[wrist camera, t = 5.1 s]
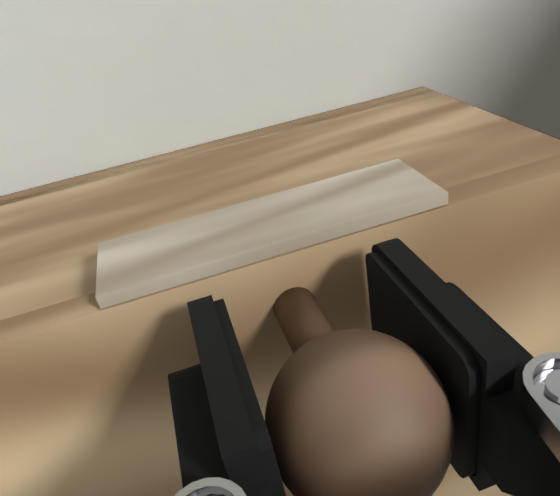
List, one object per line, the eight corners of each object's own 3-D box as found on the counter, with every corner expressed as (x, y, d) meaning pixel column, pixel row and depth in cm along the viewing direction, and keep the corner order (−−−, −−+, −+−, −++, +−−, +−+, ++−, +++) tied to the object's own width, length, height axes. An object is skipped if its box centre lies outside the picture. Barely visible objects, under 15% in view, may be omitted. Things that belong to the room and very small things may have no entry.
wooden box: (-30, 204, 18) (-130, 373, 11) (423, 86, 21) (597, 154, 13) (118, 474, 27) (120, 676, 19) (428, 364, 29) (537, 502, 22)
